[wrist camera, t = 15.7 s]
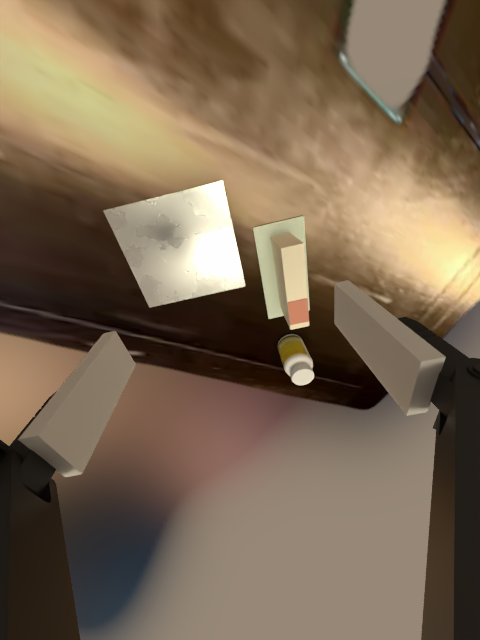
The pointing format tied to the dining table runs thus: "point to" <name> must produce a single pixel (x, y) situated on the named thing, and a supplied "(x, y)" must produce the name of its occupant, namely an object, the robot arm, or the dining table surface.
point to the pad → (267, 261)
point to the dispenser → (179, 244)
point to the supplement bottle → (296, 359)
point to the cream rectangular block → (291, 278)
